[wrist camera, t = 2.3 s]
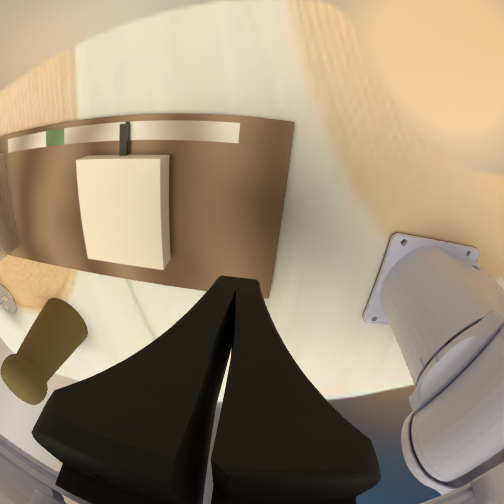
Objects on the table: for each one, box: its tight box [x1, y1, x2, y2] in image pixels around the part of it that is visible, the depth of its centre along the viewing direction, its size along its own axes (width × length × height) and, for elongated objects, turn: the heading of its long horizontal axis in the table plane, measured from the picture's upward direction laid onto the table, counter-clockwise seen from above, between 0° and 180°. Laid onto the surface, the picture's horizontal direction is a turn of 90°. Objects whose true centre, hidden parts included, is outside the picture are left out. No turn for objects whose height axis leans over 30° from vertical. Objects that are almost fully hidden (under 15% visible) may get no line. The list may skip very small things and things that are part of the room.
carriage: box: [76, 123, 171, 270], centre depth 16 cm, size 6×9×2 cm, turn 174°
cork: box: [1, 298, 88, 405], centre depth 20 cm, size 6×6×11 cm
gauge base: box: [0, 114, 294, 298], centre depth 18 cm, size 26×12×1 cm, turn 84°
